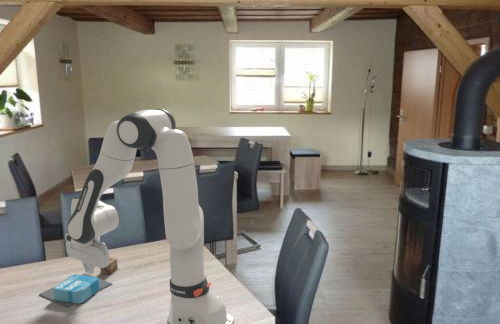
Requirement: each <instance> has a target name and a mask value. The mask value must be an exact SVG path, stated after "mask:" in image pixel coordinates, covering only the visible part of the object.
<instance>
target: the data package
mask: <svg viewBox="0 0 500 324" xmlns="http://www.w3.org/2000/svg"><path fill="white" fill-rule="evenodd" d="M91 276H92V275H91ZM91 276H83V275H82V274H73V275H70V276H69V277H67V278H66V279H64V280H63V281H62V282H60V283H58V284H57V285H56V286H54V295H55V300H59V301H65V302H72V303H75V304H82V303H84V302H85V301H87V300H88V299H89V298H91V296H93V295H94V294H96V293H98V292H99V291H98V290H99V279H100V278H99V277H96V276H94V277H91ZM98 278H99V279H98ZM97 291H98V292H97ZM95 292H96V293H95Z"/></svg>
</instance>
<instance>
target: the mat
mask: <svg viewBox="0 0 500 324" xmlns="http://www.w3.org/2000/svg"><path fill="white" fill-rule="evenodd" d="M81 275H83V276H91V277H95V276H93V275H92V274H89V273H86V272H85V273H82V274H81ZM97 278H98V279H99V290H98V291H97V292H95V293H94V294H96V293H98V292H100V291H102V290H105V289H106V288H108V287H110V286H112V285H113V283H112V282H110V281H107V280H104V279H102V278H100V277H97ZM54 287H55V286H54ZM54 287H52V288H49V289H47V290H44V291H42V292H41V293H39V294H38V295H39V296H41V297H43V298H45V299H48V300H50V301H52V302H54V303H56V304H58V305H60V306H63V307H65V308H69V307H71V306H72V305H74V304H76V303H72V302H65V301H59V300H55V295H54Z"/></svg>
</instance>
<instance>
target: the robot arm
mask: <svg viewBox="0 0 500 324" xmlns="http://www.w3.org/2000/svg"><path fill="white" fill-rule="evenodd" d="M176 125H177V124H176V118H175V117H174V116H173V113H171V112H170V111H169V110H167V109H166V110H165V109H163V108H153V109H141V110H138V111H136V112H131V113H128V114H126V115H124V116H123V117H121V119H118V120H114V121H112V122H111V123H110V124H109V126H108V128H107V130H106V132H105V134H104V137H103V140H102V144H101V146H100V147H101V148H100V152H99V156H98V158H97V160H96V162H95V164H94V165H93V167H92V169H91V171H90V172H89V173H88V175H87V177H86V179H85V181H84V183H83V187H82V189H81V192H80V195H76V196H74V197H73V198H72V199H71V204H70V216H69V219H68V222H67V226H66V227H67V229H66V230H67V234H64V239H65V242H66V243H65V247H66V253H67V256H68V257H69V258H72V259H75V260H77V261H80V262H81V264H82V266H83V268H84V272H85V273H86V274H89V275H92V274H95V267H97V268H99V269H100V268H104V267H106V266H108V265H109V264H110V258H111V257H110V252H109V248H108V247H107V245H105V243H104V242H103V241H101V239H100V237H101V236H103V235H105V234H107V233H109V232H112V231H114V230H115V229H117V228H118V227H119V224H120V222H121V217H120V212H119V211H118V209H117V208H116V207H115V206H114V205H112V204H108V203H105V202H103V201H102V200H101V197H102V195H103V194H104V193H105V192H106V191H107V190H108V189H109V188H110V187H112V186H113V185H115V184H117V183H118V182H120V181H121V180H123V179H125V178H126V177H128V175H129V174H130V172H131V170H132V169H133V166H134V163H135V160H136V159H135V158H136V156H137V150H142V151H143V152H144V151H145V152H149V151H150V150H153V151H154V153H155V155H156V158H157V164H158V165H157V166H158V172H159V177H160V184H161V191H162V205H163V206H162V207H163V209H162V210H163V220H164V229H165V239H166V241H167V243H168V245H170V250H169V251H170V252H169V269H170V279H169V291H170V294H171V295H170V296H171V297H170V307H169V314H168V317H167V321H168V324H234V321H235V319H234V316H232V315H231V314H229V313H227V308H226V306H225V303H224V302H223V301H222V300H221V298H220V297H219V296H217V295H216V294H215V293H214V292H213V291H212V290H211V289H210V287H211V286H212V281H210V282H208V280H207V278H206V277H207V276H206V275H205V256H204V253H205V249H204V248H205V244H204V243H205V224H204V223H205V220H204V218H205V217H204V211H203V208H202V207H201V205H200V204H199V203H200V202H199V189H198V181H197V174H196V168H195V167H196V166H195V160H194V154H193V150H192V147H191V143H190V141H189V138H188V135H187V134H186V132H184V131H182V130H180V129H176Z"/></svg>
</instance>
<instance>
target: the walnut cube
mask: <svg viewBox="0 0 500 324" xmlns="http://www.w3.org/2000/svg"><path fill="white" fill-rule="evenodd" d="M109 258H110V264H109V265H108V266H106V267H104V268H99V269H100V273H99V274H101V275H103V274H104V275H113V274H114V273H115V272H116V271H118V270H119V268H118V267H119V266H118V258H114V257H109Z"/></svg>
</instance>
